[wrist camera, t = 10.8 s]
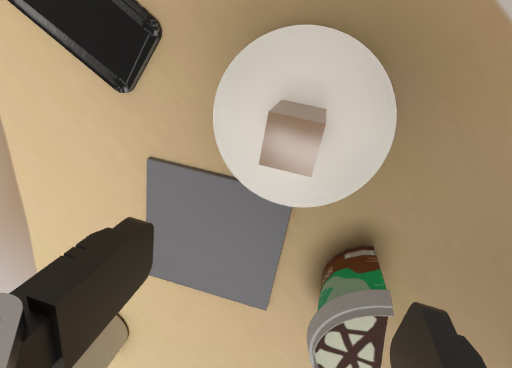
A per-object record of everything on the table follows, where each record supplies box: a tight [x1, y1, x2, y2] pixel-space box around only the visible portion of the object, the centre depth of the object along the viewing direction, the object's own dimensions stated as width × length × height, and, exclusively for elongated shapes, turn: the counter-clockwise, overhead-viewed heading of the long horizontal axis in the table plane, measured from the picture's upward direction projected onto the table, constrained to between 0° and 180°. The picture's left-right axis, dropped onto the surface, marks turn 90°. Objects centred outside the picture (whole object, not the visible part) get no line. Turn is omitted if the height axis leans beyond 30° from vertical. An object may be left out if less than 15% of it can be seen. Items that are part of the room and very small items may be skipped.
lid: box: [213, 25, 397, 207], centre depth 20 cm, size 13×13×6 cm
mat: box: [146, 157, 292, 311], centre depth 34 cm, size 16×16×1 cm
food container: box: [307, 247, 394, 368], centre depth 29 cm, size 12×6×10 cm, turn 3°
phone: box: [8, 0, 162, 93], centre depth 28 cm, size 8×1×15 cm
